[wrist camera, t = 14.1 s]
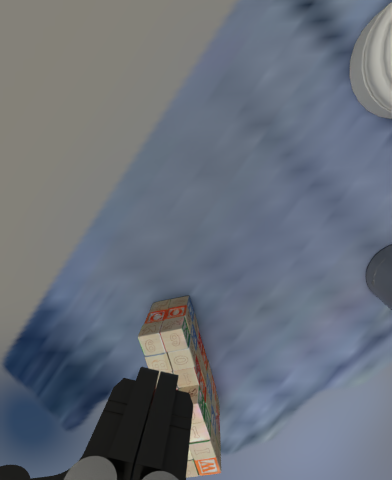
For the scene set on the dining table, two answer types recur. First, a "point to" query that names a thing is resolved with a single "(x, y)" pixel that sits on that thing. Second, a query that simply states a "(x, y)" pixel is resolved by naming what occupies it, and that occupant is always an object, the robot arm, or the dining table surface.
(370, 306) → the dining table surface
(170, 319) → the stack of blocks
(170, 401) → the robot arm
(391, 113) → the honey pot
